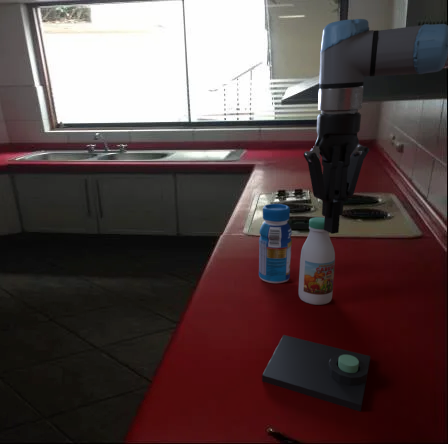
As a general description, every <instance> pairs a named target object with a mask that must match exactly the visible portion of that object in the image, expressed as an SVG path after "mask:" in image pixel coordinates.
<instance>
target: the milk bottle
mask: <svg viewBox="0 0 448 444" xmlns="http://www.w3.org/2000/svg"><path fill="white" fill-rule="evenodd" d="M324 219H325V217H320V216H318V217H317V216H316V217H311V218H310V219H309V221H308V229H309V232H308V235H307V238H306V240H305V242H304V243H303V245H302V248H301V250H300V258H299V273H298V294H297V295H298V297H299V299H300V300H301V301H303V302H304V303H306V304H310V305H318V306H320V305H321V306H322V305H327V304H329V303H330V302H332V299H333V294H334V293H333V291H334V280H335V278H334V277H335V265H336V263H335V262H336V252H335V248H334V245H333V243H332V240H331V237H330V233H329V232H327V231H325V230H324Z"/></svg>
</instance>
